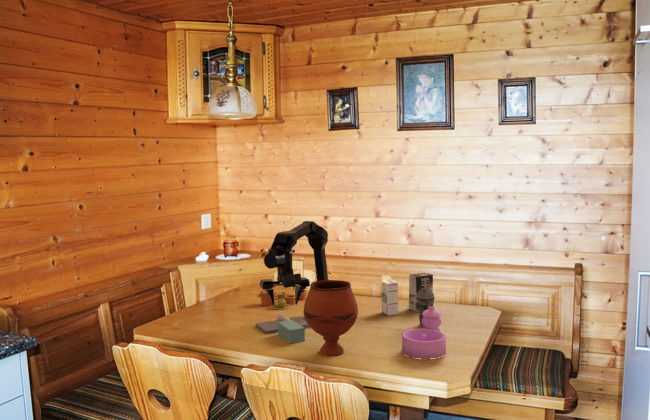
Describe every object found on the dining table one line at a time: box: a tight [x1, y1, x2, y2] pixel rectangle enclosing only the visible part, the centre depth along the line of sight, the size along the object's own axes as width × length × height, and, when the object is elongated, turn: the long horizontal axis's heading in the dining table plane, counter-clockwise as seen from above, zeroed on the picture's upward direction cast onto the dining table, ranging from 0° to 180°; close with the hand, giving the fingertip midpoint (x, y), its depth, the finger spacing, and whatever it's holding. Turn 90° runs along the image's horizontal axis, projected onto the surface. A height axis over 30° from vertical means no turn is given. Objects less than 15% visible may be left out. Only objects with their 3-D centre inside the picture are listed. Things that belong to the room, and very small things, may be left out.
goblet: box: [303, 279, 359, 357], centre depth 204 cm, size 19×19×25 cm
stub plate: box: [255, 313, 311, 335], centre depth 237 cm, size 20×12×4 cm, turn 117°
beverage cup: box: [417, 278, 436, 327], centre depth 235 cm, size 7×7×20 cm
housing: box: [277, 320, 306, 344], centre depth 222 cm, size 6×12×5 cm, turn 27°
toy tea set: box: [256, 289, 307, 311], centre depth 275 cm, size 26×16×10 cm, turn 149°
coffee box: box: [408, 272, 434, 313], centre depth 260 cm, size 9×6×16 cm
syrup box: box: [381, 279, 399, 316], centre depth 254 cm, size 6×6×14 cm
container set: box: [401, 305, 447, 359], centre depth 208 cm, size 25×15×13 cm, turn 158°
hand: (284, 305), depth 222 cm, fingers open, 9 cm apart
